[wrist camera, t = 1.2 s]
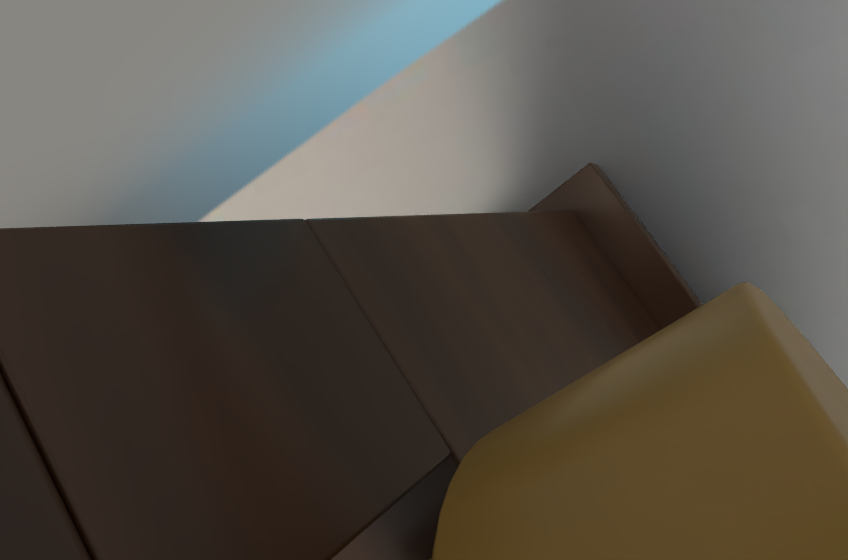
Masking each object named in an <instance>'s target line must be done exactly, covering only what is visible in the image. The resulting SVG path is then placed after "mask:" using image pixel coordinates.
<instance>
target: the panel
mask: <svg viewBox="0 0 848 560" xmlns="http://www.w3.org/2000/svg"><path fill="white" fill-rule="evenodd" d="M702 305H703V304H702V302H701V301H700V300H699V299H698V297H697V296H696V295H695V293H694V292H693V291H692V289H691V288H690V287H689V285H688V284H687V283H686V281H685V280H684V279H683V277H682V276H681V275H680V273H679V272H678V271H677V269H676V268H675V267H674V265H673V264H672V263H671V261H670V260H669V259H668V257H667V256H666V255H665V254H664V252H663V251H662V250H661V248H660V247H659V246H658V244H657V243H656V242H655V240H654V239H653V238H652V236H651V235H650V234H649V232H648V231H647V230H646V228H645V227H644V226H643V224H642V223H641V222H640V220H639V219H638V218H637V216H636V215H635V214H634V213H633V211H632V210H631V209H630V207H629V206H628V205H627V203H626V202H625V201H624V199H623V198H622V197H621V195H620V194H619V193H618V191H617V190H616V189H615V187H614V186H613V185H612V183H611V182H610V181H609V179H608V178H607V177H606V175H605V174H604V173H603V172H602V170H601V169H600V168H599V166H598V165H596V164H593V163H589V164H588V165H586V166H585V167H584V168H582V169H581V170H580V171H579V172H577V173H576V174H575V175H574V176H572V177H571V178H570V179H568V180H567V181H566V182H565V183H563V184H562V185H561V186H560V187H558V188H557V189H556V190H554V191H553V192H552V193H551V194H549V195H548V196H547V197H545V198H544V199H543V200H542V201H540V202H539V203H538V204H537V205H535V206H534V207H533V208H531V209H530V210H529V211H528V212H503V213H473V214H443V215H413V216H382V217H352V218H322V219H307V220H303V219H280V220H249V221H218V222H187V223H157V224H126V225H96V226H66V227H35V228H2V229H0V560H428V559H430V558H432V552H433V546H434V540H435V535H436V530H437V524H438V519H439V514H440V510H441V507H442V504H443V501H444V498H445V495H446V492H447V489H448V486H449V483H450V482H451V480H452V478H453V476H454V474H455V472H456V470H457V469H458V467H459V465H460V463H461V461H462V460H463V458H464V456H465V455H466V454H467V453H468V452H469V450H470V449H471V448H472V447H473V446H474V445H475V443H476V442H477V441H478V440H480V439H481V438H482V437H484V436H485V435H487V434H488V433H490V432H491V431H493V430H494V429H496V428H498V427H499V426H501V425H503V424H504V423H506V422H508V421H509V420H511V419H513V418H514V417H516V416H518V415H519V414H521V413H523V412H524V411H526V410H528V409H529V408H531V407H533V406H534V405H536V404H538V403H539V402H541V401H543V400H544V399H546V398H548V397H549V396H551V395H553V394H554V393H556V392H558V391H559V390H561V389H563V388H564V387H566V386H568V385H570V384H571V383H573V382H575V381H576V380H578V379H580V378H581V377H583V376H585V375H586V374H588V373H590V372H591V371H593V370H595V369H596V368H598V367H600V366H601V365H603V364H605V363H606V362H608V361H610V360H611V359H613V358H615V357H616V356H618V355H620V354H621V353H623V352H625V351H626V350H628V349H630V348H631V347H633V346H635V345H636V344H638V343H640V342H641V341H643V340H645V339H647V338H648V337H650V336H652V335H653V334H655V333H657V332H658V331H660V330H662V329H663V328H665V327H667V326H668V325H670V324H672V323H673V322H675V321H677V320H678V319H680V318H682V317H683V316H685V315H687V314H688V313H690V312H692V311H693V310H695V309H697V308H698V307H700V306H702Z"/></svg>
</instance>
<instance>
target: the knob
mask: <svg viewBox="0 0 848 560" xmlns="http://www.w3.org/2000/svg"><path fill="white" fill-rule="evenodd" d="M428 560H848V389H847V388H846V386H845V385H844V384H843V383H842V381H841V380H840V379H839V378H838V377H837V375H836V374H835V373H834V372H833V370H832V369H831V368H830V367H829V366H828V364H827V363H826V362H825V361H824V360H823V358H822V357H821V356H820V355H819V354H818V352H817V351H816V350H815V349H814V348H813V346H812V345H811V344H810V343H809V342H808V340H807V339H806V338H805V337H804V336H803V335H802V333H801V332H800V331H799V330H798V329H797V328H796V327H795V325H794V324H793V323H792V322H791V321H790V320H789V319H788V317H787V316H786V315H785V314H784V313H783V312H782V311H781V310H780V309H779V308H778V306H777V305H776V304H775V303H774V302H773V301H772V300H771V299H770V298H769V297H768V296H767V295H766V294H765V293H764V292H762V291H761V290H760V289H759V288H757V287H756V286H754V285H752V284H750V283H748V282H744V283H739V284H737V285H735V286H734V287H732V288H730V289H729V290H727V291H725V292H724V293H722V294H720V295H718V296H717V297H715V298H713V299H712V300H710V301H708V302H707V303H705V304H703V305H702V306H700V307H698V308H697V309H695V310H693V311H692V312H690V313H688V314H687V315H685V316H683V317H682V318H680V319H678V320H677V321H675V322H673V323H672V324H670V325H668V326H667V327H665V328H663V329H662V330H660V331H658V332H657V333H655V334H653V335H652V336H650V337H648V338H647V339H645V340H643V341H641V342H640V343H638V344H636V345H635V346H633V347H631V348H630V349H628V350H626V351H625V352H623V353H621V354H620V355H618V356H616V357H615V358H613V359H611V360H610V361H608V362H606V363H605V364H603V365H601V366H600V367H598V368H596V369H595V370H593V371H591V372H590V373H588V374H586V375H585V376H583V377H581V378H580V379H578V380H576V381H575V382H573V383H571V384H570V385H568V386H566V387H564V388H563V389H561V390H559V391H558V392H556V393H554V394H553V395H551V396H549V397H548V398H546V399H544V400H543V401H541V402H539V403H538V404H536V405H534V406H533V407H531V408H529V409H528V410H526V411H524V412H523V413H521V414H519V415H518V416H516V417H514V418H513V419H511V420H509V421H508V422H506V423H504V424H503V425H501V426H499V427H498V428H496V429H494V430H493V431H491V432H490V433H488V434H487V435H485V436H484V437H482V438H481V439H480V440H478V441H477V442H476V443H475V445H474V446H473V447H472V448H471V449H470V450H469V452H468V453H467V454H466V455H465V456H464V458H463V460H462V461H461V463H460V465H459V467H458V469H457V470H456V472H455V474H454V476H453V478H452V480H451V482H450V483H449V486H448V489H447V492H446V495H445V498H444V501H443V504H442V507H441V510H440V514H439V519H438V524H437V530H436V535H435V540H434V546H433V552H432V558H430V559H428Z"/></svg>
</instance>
